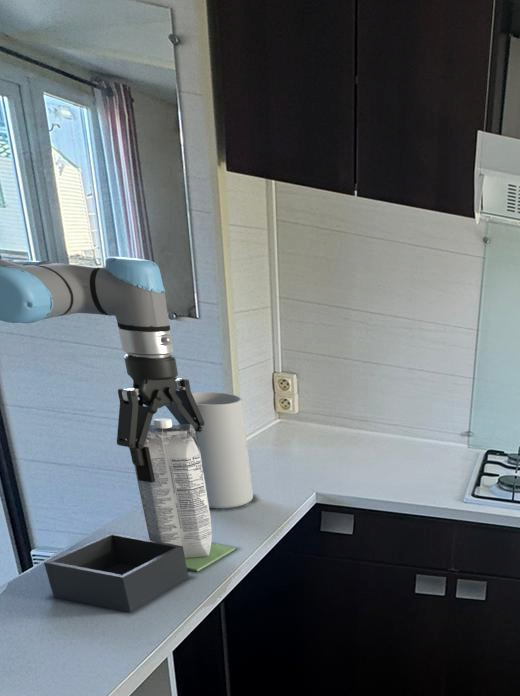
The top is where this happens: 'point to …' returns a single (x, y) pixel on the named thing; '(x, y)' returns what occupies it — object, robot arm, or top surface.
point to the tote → (117, 571)
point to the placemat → (208, 557)
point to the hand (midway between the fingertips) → (171, 471)
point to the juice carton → (176, 489)
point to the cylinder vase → (224, 450)
